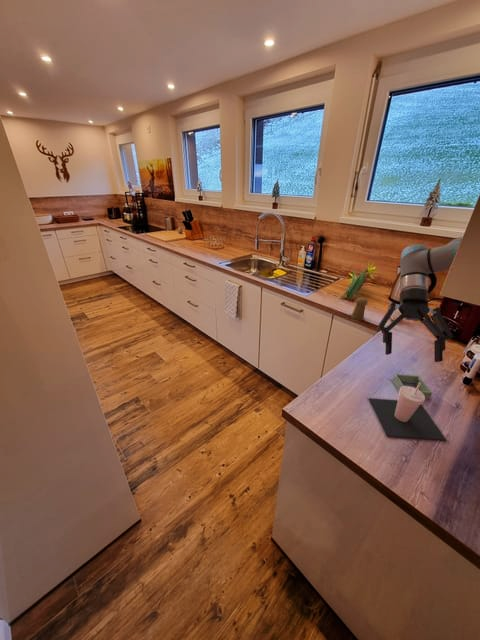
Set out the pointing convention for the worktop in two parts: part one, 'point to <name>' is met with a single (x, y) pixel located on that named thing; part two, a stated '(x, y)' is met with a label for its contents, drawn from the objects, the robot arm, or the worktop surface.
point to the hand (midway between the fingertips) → (413, 357)
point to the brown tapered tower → (359, 309)
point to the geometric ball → (395, 314)
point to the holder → (411, 379)
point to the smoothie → (408, 402)
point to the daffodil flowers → (358, 281)
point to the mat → (413, 428)
